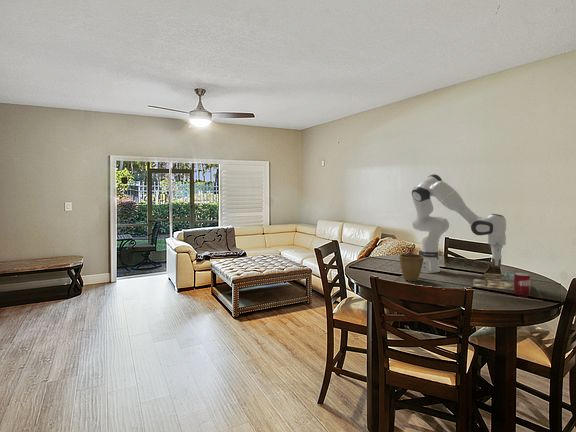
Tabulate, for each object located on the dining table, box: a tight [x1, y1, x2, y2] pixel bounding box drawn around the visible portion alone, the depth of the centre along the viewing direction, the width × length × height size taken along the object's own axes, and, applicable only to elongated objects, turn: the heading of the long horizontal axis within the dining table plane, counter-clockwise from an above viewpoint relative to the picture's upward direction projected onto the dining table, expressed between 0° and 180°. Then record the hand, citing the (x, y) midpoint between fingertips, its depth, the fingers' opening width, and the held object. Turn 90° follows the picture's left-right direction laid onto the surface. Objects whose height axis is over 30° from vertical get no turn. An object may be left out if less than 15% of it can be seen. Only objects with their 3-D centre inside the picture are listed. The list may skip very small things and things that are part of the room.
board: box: [472, 272, 514, 291], centre depth 199 cm, size 24×17×6 cm
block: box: [490, 257, 502, 269], centre depth 199 cm, size 4×4×4 cm
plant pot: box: [398, 253, 424, 282], centre depth 216 cm, size 15×15×16 cm
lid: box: [503, 270, 515, 281], centre depth 195 cm, size 8×14×3 cm, turn 150°
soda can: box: [513, 272, 531, 299], centre depth 181 cm, size 7×7×12 cm
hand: (496, 264), depth 199 cm, fingers closed on block, 4 cm apart
